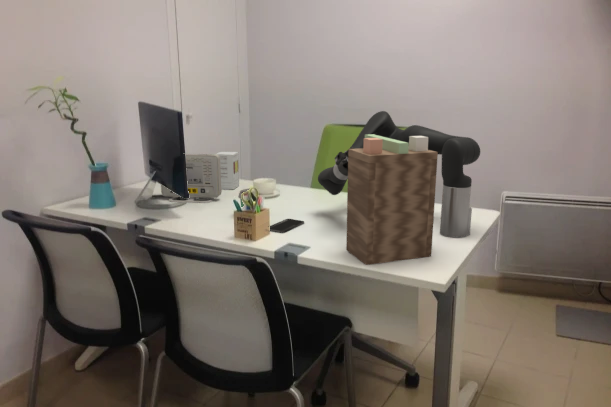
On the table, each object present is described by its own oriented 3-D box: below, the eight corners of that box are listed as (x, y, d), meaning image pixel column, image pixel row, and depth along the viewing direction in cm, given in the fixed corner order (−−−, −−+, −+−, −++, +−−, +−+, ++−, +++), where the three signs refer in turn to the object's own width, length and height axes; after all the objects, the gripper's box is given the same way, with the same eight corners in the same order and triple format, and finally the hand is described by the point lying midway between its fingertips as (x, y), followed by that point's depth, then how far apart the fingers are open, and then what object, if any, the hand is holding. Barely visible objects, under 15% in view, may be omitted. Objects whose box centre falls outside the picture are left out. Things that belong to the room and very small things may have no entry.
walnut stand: (407, 242, 175) (412, 145, 167) (431, 256, 162) (437, 152, 154) (346, 250, 167) (348, 149, 160) (366, 265, 155) (369, 155, 147)
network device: (223, 198, 234) (221, 153, 229) (217, 203, 226) (216, 156, 221) (166, 197, 236) (163, 152, 232) (159, 201, 228) (156, 155, 223)
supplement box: (233, 190, 250) (232, 154, 246) (215, 189, 252) (213, 154, 248) (239, 185, 260) (238, 151, 256) (221, 185, 261) (220, 151, 257)
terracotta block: (375, 151, 155) (376, 137, 154) (382, 153, 151) (382, 139, 150) (363, 152, 154) (363, 138, 153) (369, 154, 150) (370, 139, 149)
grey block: (420, 149, 160) (421, 135, 159) (427, 150, 156) (428, 137, 155) (408, 149, 159) (409, 136, 158) (415, 151, 155) (416, 137, 154)
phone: (264, 228, 188) (287, 218, 200) (264, 231, 188) (287, 221, 201) (283, 231, 184) (305, 221, 196) (283, 234, 184) (305, 224, 197)
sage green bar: (372, 143, 171) (373, 134, 171) (408, 153, 151) (408, 142, 151) (364, 144, 170) (364, 134, 170) (398, 153, 150) (399, 143, 150)
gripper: (326, 157, 187) (342, 139, 172) (362, 155, 192) (382, 137, 177) (330, 177, 185) (347, 160, 170) (367, 175, 190) (386, 158, 175)
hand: (365, 149), depth 174 cm, fingers open, 8 cm apart
